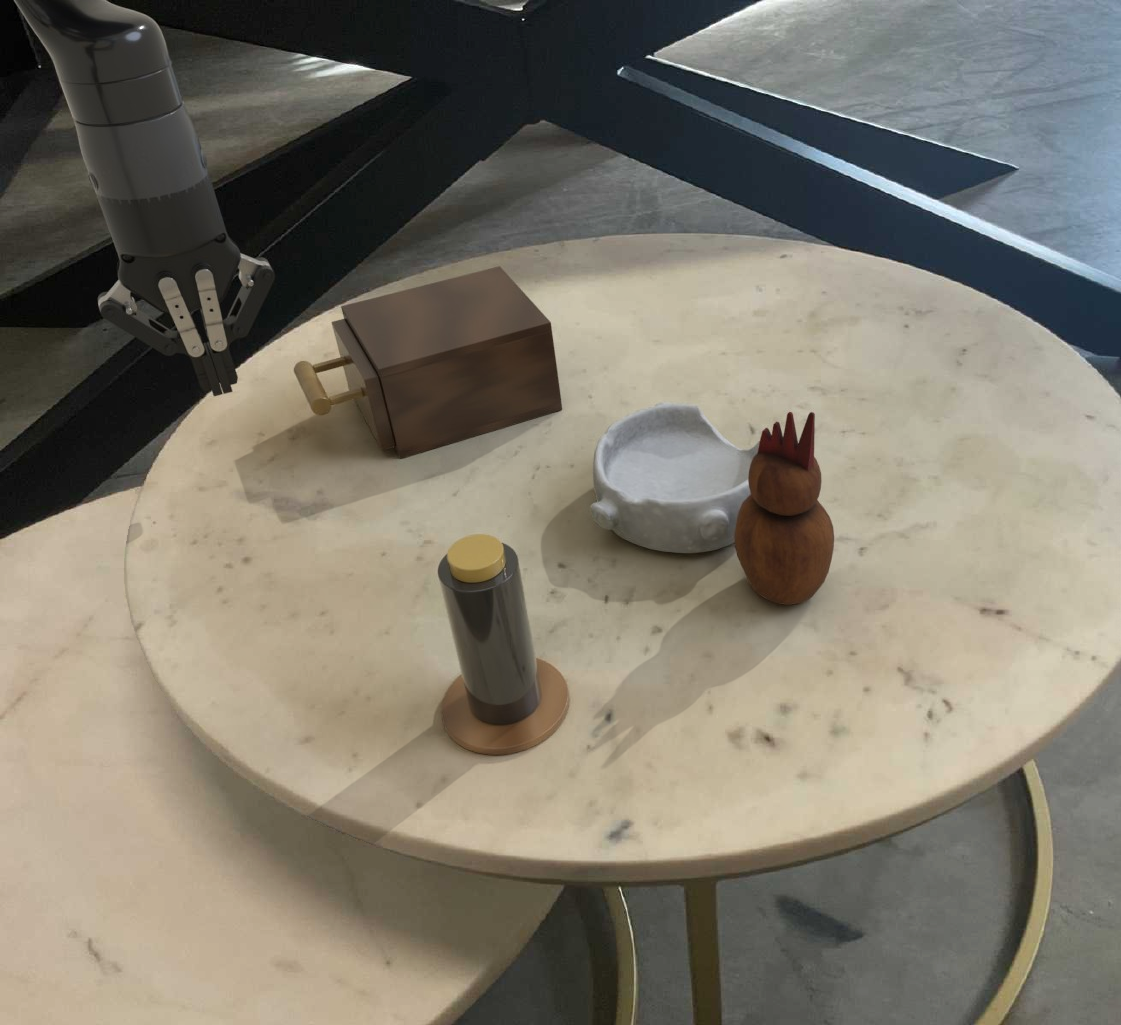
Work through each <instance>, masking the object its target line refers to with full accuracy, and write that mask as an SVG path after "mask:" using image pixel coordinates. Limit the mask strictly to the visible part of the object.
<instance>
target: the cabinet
mask: <svg viewBox="0 0 1121 1025" xmlns="http://www.w3.org/2000/svg"><path fill="white" fill-rule="evenodd" d="M340 308H341V312H342V315H343V319H345V320H346V321H347V323H348V325H349V327H350V328H351V330H352V332H353V333H354V335H355V337H356V338H357V340H358V342H359V344H360V345H361V347H362V349H363V350H364V352H365V354H366V355H367V357H368V359H369V361H370V362H371V364H372V366H373V367H375V369H376V371H377V373H378V376H379V379H380V383H381V387H382V391H383V395H384V400H385V404H386V408H387V412H388V416H389V420H390V424H391V428H392V432H393V436H394V440H395V444H396V446H395V447H393V448H394V450H395V452H396V454H397V455H398V458H399V459H405V458H408V457H411V456H415V455H417V454H421V453H424V452H428V451H431V450H435V449H438V448H441V447H444V446H447V445H451V444H454V443H458V442H461V441H463V440H467V439H470V438H474V437H477V436H480V435H483V434H487V433H490V432H494V431H497V430H500V429H503V428H507V427H510V426H513V425H516V424H520V423H523V422H526V421H530V420H533V419H537V418H539V417H543V416H546V415H549V414H553V413H557V412H560V411H563V404H562V395H561V388H560V387H561V386H560V380H559V372H558V367H557V366H558V365H557V358H556V357H557V356H556V350H555V344H554V335H553V328H552V322H551V320H550V319H549V318H547V316H546V315H545V314H544V313H543V312H542V311H541V310H540V309H539V308H538V306H537V305H536V304H535V303H534V302H533V301H532V300H531V299H530V297H529V296H528V295H527V294H526V293H525V292H524V291H523V290H522V289H521V288H520V286H519V285H517V283H516V282H515V281H514V280H513V279H512V278H511V277H510V275H509V274H508V273H507V272H506V271H505V270H504V269H503V268H502V266H500V265H499V266H494V267H492V268H487V269H483V270H479V271H476V272H471V273H468V274H463V275H460V276H454V277H451V278H447V279H443V280H440V281H435V282H431V283H428V284H424V285H420V286H416V287H412V288H408V289H404V290H399V291H395V292H392V293H388V294H384V295H380V296H376V297H373V298H367V299H364V300H359V301H356V302H352V303H349V304H344V305H341V306H340Z"/></svg>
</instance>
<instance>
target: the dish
mask: <svg viewBox="0 0 1121 1025" xmlns="http://www.w3.org/2000/svg"><path fill="white" fill-rule="evenodd" d="M759 443H760V440H759V441H758V442H756V444H755V445H754V446H752V447H751V448H749V449H748V448H747V449H743V448H739V447H738V446H736V445H734V444H733V443H731V441H729V440H728V439H727V438H725V437H724V436H723V435H722V434H721V433H720V431H718V429H717V428H716V427H715V426H714V425H713V424H712V423H711V421H709V420H708V418H707V417H706V415H705V414H704V412H702V410H701V408H700V407H699V406H697V405H696V404H691V403H674V402H668V401H663V402H659V403H657V404H654V406H649V407H645V408H642V409H639V410H636V411H634V412H632V413H629V414H627V415H626V416H624V417H622V418H620V419H618V420H616V421H615V422H613V423H612V424H611V425H609V427H608V428H607V429H606V431H605V432H604V434H603V435H602V436H601V437H600V438H599V439H598V441H597V444H596V446H595V449H594V453H593V461H592V478H593V480H592V481H593V487H594V494H595V499H596V501H595V502H593V503H592V504H591V505H590V507H589V509H590V513H591V516H592V519H593V520H594V521H595V522H596V524H597V525H598V526H599V527H600V528H602V529H604V530H607V531H609V530H610V531H613V532H614V533H615V534H616V535H618V537H620V538H621V539H623V540H625V541H628V542H629V543H631V544H634V545H637V546H639V547H642V548H647V549H650V550H654V551H658V552H659V551H660V552H666V553H674V554H675V553H676V554H677V553H678V554H697V553H706V552H711V551H716V550H719V549H722V548H725V547H728V546H729V545H732V544H735V538H734V534H735V528H736V522H737V517H738V512H739V510H740V507H741V505H742V503H743V501H744V500H745V499H746V498H747V497H748V496H749V495H750V494H751V492H750V489H749V482H748V476H749V469H750V464H751V462H752V459H753V457H754V456H755V455H756V454H757V453H758V448H759Z"/></svg>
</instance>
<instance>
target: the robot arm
mask: <svg viewBox="0 0 1121 1025" xmlns="http://www.w3.org/2000/svg"><path fill="white" fill-rule="evenodd" d="M13 1H14V3H15V4H16V6H17V7H18V9H19V10H20V13H21V14H22V16H23V17H24V18H25V20H26V22H27V23H28V25H29V26H30V28H31V29H32V31H33V32H34V34H35V35H36V36H37V37H38V39H39V41H40V43H41V44H42V45H43V47H44V48H45V50H46V51H47V53H48V54H49V56H50V58H51V61H52V63H53V66H54V68H55V72H56V75H57V78H58V81H59V83H60V86H61V89H62V92H63V94H64V97H65V101H66V103H67V106H68V108H69V112H70V115H71V117H72V119H73V123H74V126H75V130H76V134H77V138H78V139H77V140H78V144H79V148H80V149H79V150H80V153H81V156H82V159H83V162H84V165H85V167H86V170H87V177H88V181H89V182H90V184H91V186H92V187H93V189H94V192H95V195H96V197H97V201H98V203H99V206H100V209H101V212H102V215H103V217H104V219H105V223H106V226H107V228H108V231H109V234H110V236H111V239H112V242H113V245H114V247H115V251H116V252H117V256H118V258H117V259H118V260H117V265H116V274H117V277H118V280H117V281H116V282H115V283H114V285H113V286H112V287H111V288H110V289H109V290H108V291H103V292H101V293H100V294H99V295H98V297H97V304H98V309H99V313H100V315H101V317H102V318H103V319H104V320H106V321H107V322H109V323H111V324H112V325H114V326H116V327H118V328H119V329H122V331H124V332H126V333H127V334H129V335H131V336H133V337H135V338H136V339H137V340H139V341H141V342H142V343H144V344H146V345H147V346H149V347H150V348H152V349H154V350H156V351H157V352H159V353H160V354H162V355H164V356H167V357H170V356H174V355H175V354H182V355H183V354H184V355H186V356H188V357H189V358H190V360H191V364H192V367H193V369H194V372H195V375H196V378H197V381H198V384H199V386H200V388H201V389H202V390H203V391H204V392H209V391H211V392H212V396H213V397H219V396H222V395H226V394H229V393H233V388H232V385H236V384H238V378H239V376H238V374H237V370H236V367H235V364H234V361H233V357H232V354H231V351H230V346H231V344H232V342H234V341H236V340H237V339H243V338H246V337H247V336H248V335H249V333H250V331H251V329H252V327H253V325H254V322H255V320H256V318H257V317H258V314H259V312H260V310H261V308H262V306H263V305H264V302H265V300H266V298H267V297H268V294H269V292H270V290H271V288H272V286H273V284H274V281H275V280H276V273H275V272H274V269H273V267H272V266H271V264H270V262H269V261H268V259H266V258H265V257H262V256H261V257H257V258H254V257H251V256H249V255H246V254H244V253H241V251H240V249H239V247H238V245H237V243H236V242H235V241H234V240H233V239H232V238H231V237H230V236H229V234H228V232H227V229H226V226H225V223H224V219H223V215H222V213H221V212H222V211H221V210H220V206H219V203H218V202H219V201H218V199H217V197H216V196H217V195H216V192H215V188H214V186H213V185H214V184H213V182H212V179H211V176H210V173H209V169H208V161H207V156H206V155H205V152H204V150H203V149H202V145H201V142H200V138H199V136H198V133H197V130H196V128H195V126H194V125H195V124H194V123H193V121H192V119H191V117H190V115H189V112H188V109H187V108H186V104H185V102H184V99H183V95H182V91H181V88H180V86H179V81H178V79H177V75H176V72H175V69H174V65H173V62H172V58H171V54H170V51H169V49H168V48H169V47H168V45H167V42H166V39H165V36H164V35H163V31H162V29H161V28H160V26H159V24H158V23H157V22H156V21H155V20H154V19H153V18H152V17H150V16H149V15H147V14H144V13H142V12H140V11H136V10H133V9H130V8H126V7H122V6H119V5H117V4H114V3H111V2H109V1H108V0H13ZM238 270H239V273H238V279H239V281H240V284H241V287H240V289H239V290H238V292H237V296H236V297H235V299H234V301H233V303H232V306H231V308H230V310H229V311H228V314H227V316H226V317H225V318H224V319H223V316H222V315H223V314H222V312H221V307H220V303H221V302H223V300H224V299H225V298H226V296H227V294H228V292H229V289H230V287H231V284H232V282H233V279H234V277H235V275H236V273H237V271H238ZM131 293H132V294H134V295H135V296H136V297H138V298H140V299H141V300H142V301H144V302H146V303H147V304H149V305H150V306H151V307H153V308H154V309H156V310H157V311H159V312H160V313H162V314H166V315H170V316H171V318H172V321H173V322H174V324H175V325H174V326H175V327H176V329H177V330H171V328H169V327H167V326H165V325H164V324H162V323H160V322H159V321H157V320H156V319H154V318H152V317H150V316H149V315H148V314H146V313H144V312H143V311H141V310H139V309H138V305H137V304H138V303H137V301H136V299H135V298H134V297H133V296H132V294H131ZM195 310H199V311H200V314H201V319H202V322H203V327H204V331H205V335H206V337H207V342H204V341H203V338H202V336H201V334H200V332H199V331H198V328H197V325H196V323H195V320H194V319H193V316H192V313H191V312H193V311H195Z"/></svg>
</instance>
